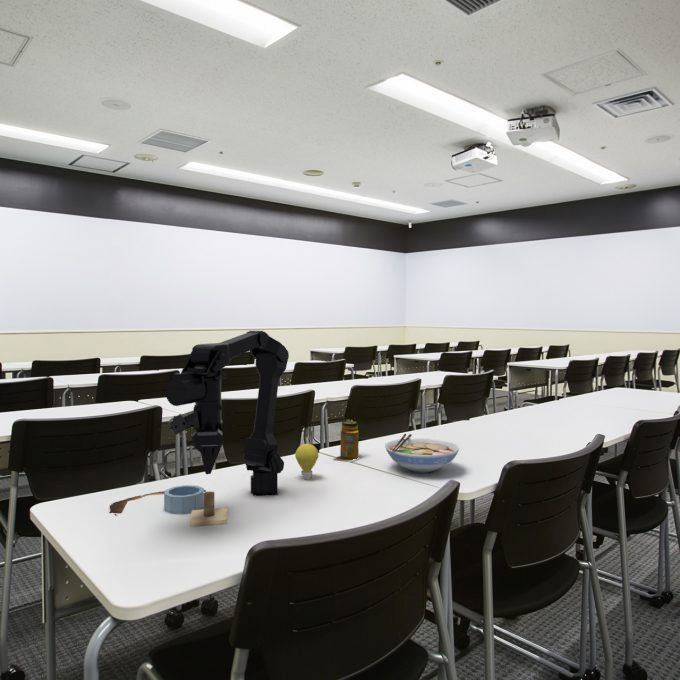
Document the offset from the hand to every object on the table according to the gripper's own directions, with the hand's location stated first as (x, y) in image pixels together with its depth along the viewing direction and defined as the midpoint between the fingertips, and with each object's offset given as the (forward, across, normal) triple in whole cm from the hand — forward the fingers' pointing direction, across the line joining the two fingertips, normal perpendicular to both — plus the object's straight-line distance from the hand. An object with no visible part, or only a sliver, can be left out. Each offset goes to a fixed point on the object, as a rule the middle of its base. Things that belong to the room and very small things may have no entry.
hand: (208, 468), depth 123 cm
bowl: (+12, -9, -6) cm, 16 cm away
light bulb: (+12, -29, +27) cm, 41 cm away
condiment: (+12, -49, +44) cm, 67 cm away
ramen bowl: (+12, -31, +63) cm, 71 cm away
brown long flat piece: (+13, -17, -13) cm, 25 cm away
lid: (+11, 0, 0) cm, 11 cm away
